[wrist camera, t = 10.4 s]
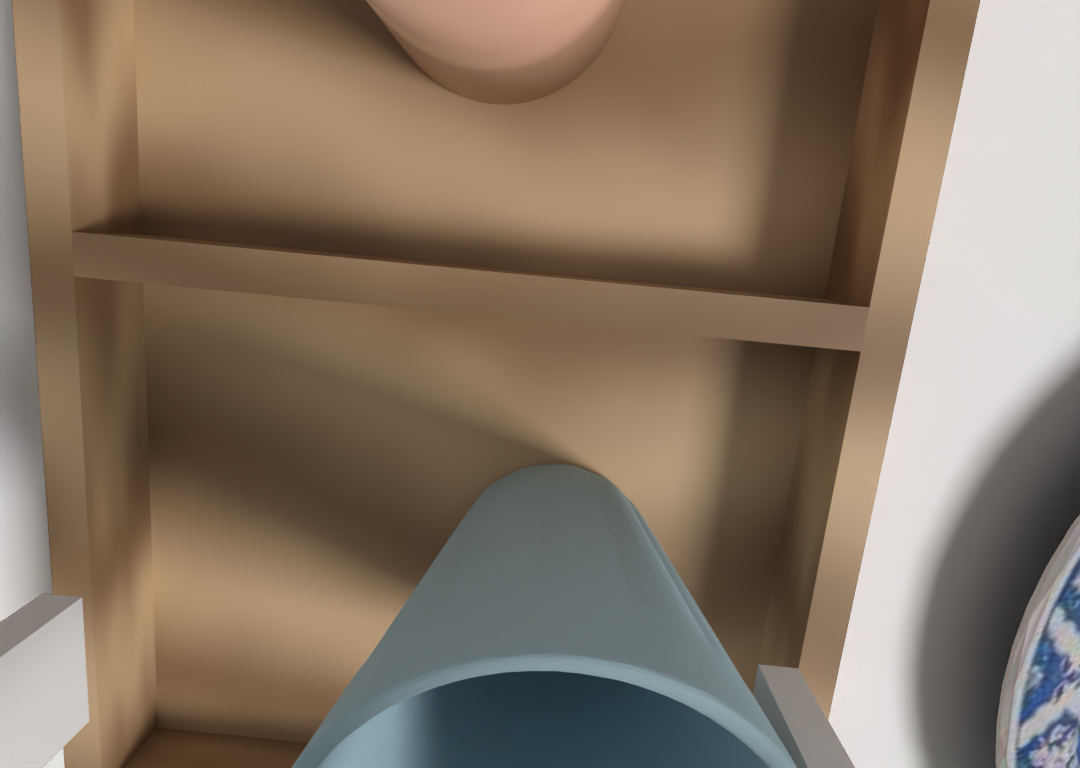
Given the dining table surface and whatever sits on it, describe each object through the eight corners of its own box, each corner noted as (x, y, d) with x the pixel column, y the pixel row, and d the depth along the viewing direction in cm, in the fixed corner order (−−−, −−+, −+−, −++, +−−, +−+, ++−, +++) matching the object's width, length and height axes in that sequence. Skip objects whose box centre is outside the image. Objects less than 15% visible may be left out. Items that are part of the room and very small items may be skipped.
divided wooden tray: (102, -434, 15) (-32, -636, 12) (970, -359, 15) (1094, -541, 11) (146, 728, 21) (68, 820, 18) (753, 789, 21) (791, 894, 18)
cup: (413, 661, 19) (254, 1117, 9) (423, 414, 18) (245, 630, 8) (667, 683, 19) (790, 1166, 9) (699, 436, 18) (891, 684, 8)
